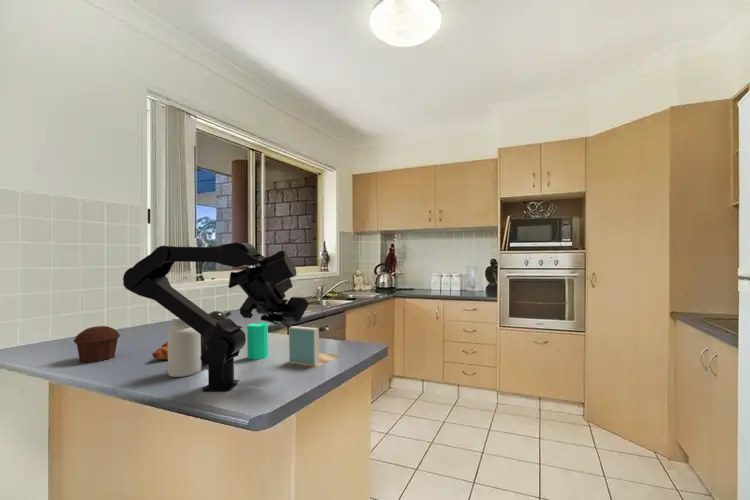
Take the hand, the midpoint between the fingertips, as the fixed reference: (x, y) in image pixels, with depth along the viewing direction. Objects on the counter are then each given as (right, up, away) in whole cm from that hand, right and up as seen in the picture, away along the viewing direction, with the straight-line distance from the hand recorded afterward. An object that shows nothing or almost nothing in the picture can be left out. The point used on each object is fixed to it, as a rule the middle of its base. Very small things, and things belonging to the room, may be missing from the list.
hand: (288, 326), depth 101 cm
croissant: (-38, -13, +21) cm, 46 cm away
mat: (+5, -12, +9) cm, 16 cm away
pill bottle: (-28, -13, 0) cm, 31 cm away
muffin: (-63, -14, +16) cm, 67 cm away
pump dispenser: (-24, -13, +10) cm, 29 cm away
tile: (+3, -11, +5) cm, 13 cm away
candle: (-13, -13, +14) cm, 22 cm away
